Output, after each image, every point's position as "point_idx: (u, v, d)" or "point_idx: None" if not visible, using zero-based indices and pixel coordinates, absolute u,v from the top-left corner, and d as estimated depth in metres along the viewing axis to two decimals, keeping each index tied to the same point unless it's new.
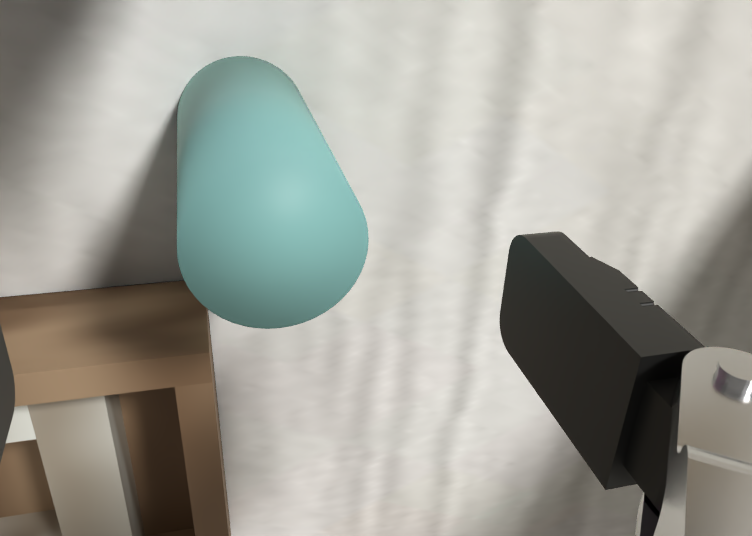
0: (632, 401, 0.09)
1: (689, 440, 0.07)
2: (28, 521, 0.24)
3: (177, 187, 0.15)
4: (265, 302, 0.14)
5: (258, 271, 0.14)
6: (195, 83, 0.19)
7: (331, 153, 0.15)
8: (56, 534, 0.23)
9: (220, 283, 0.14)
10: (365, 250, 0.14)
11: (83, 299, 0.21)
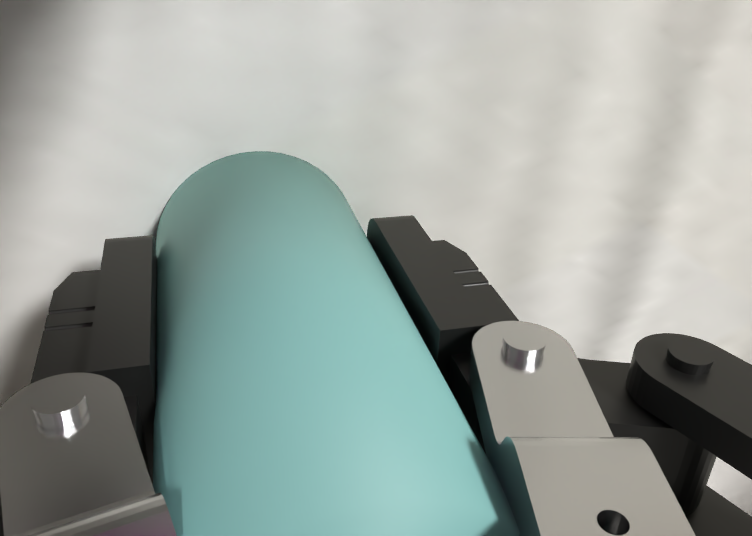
0: None
1: (503, 427, 0.07)
2: None
3: (153, 455, 0.08)
4: None
5: None
6: (185, 202, 0.11)
7: (446, 385, 0.08)
8: None
9: None
10: None
11: None
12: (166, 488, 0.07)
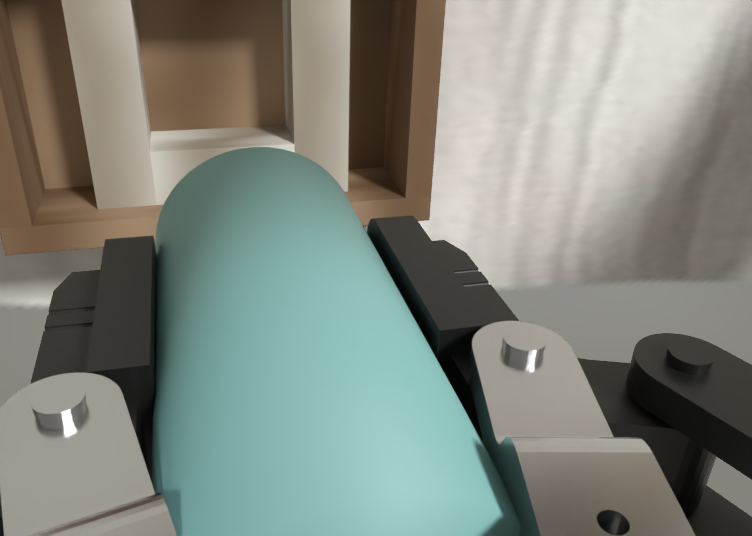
0: None
1: (503, 426, 0.07)
2: (248, 129, 0.27)
3: (152, 450, 0.08)
4: None
5: None
6: (184, 198, 0.11)
7: (446, 380, 0.08)
8: (276, 134, 0.26)
9: None
10: None
11: None
12: (165, 482, 0.07)
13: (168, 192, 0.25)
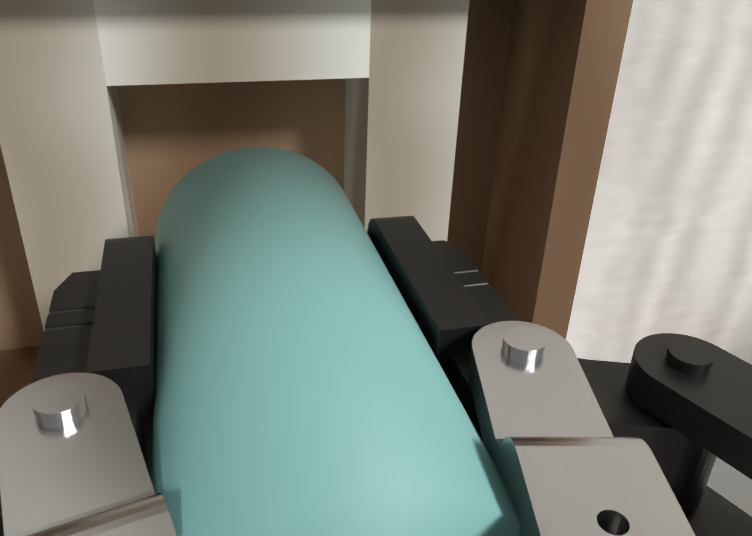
0: None
1: (503, 426, 0.07)
2: None
3: (153, 449, 0.08)
4: None
5: None
6: (185, 197, 0.11)
7: (446, 380, 0.08)
8: None
9: None
10: None
11: None
12: (165, 482, 0.07)
13: None
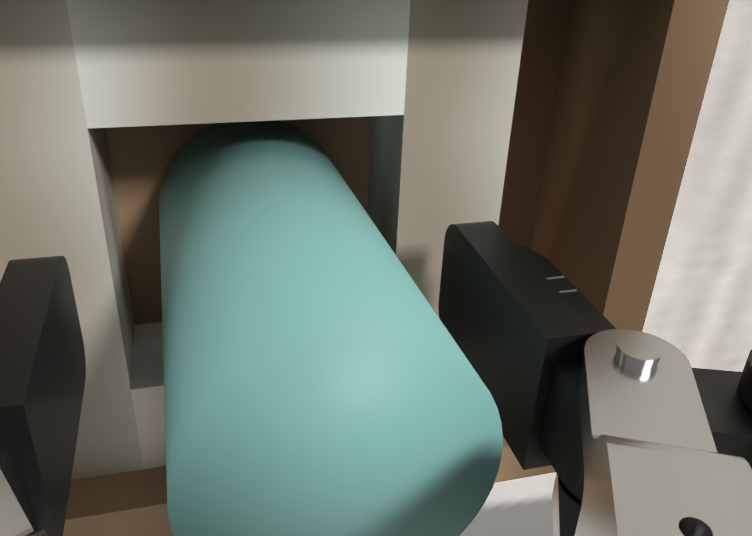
0: (543, 382, 0.09)
1: (602, 427, 0.07)
2: None
3: (163, 346, 0.09)
4: None
5: (313, 520, 0.08)
6: (186, 157, 0.13)
7: (416, 286, 0.09)
8: None
9: None
10: (493, 467, 0.08)
11: None
12: (177, 355, 0.08)
13: (165, 448, 0.14)
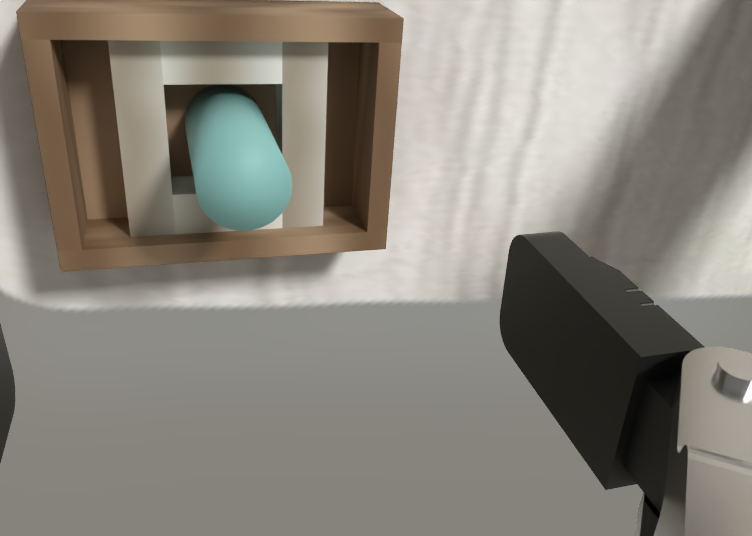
0: (632, 401, 0.09)
1: (688, 440, 0.07)
2: None
3: (192, 157, 0.28)
4: (238, 216, 0.27)
5: (235, 199, 0.27)
6: (197, 99, 0.32)
7: (275, 142, 0.29)
8: None
9: (216, 204, 0.27)
10: (290, 191, 0.28)
11: (306, 3, 0.32)
12: (198, 153, 0.27)
13: (184, 225, 0.33)
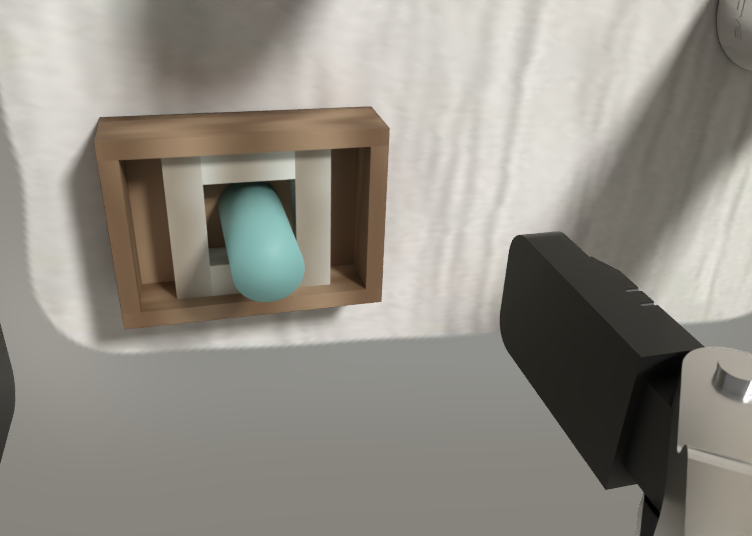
0: (632, 401, 0.09)
1: (689, 440, 0.07)
2: None
3: (227, 244, 0.37)
4: (263, 291, 0.36)
5: (261, 279, 0.35)
6: (229, 191, 0.40)
7: (291, 231, 0.37)
8: None
9: (247, 283, 0.35)
10: (303, 272, 0.36)
11: (313, 111, 0.40)
12: (232, 243, 0.36)
13: (219, 288, 0.42)
